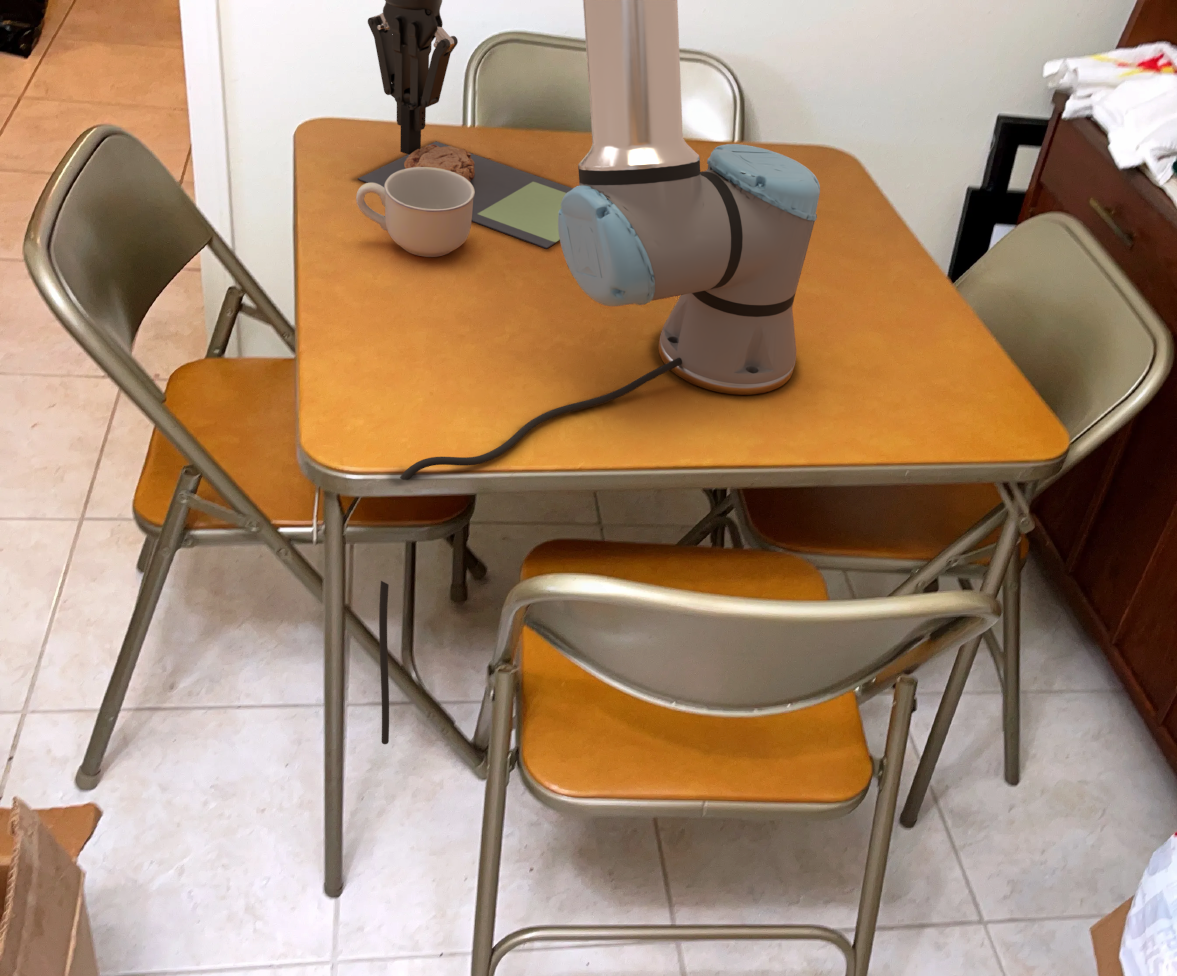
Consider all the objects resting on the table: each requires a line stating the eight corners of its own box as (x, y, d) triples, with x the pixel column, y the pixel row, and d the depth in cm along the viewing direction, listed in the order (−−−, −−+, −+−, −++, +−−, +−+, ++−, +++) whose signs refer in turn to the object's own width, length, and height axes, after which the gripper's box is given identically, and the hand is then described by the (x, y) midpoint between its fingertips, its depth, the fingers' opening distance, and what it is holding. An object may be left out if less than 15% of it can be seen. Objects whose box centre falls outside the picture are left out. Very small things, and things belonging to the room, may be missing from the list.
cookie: (429, 195, 150) (430, 174, 148) (392, 165, 156) (392, 144, 154) (493, 184, 155) (494, 163, 153) (454, 155, 161) (455, 134, 159)
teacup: (479, 233, 143) (482, 174, 138) (462, 273, 135) (465, 210, 130) (371, 217, 143) (370, 157, 138) (348, 255, 135) (346, 193, 130)
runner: (546, 249, 142) (547, 247, 142) (357, 179, 152) (357, 178, 152) (614, 204, 155) (614, 202, 155) (436, 142, 164) (436, 141, 164)
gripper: (472, -23, 142) (464, 156, 157) (389, -47, 146) (389, 130, 161) (438, -12, 137) (433, 172, 151) (353, -37, 141) (356, 144, 155)
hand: (410, 150), depth 156 cm, fingers closed
